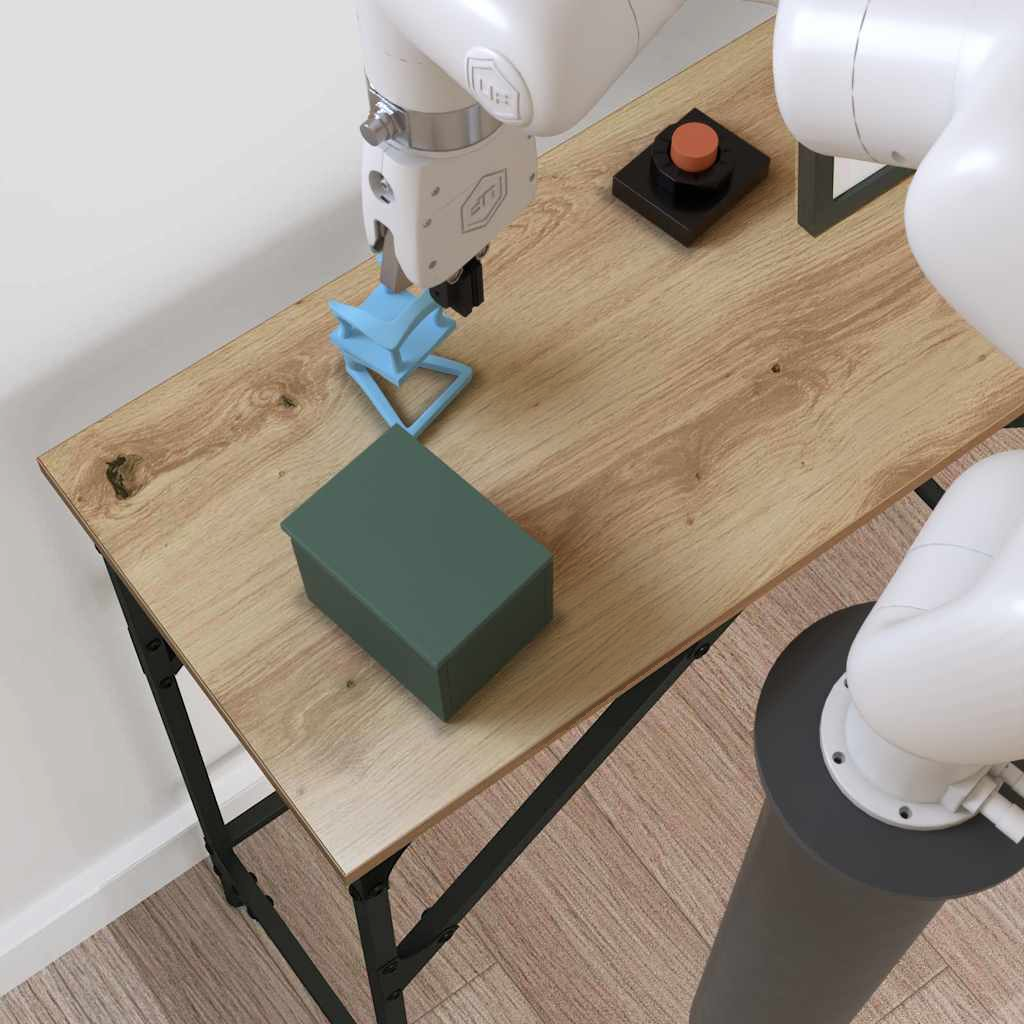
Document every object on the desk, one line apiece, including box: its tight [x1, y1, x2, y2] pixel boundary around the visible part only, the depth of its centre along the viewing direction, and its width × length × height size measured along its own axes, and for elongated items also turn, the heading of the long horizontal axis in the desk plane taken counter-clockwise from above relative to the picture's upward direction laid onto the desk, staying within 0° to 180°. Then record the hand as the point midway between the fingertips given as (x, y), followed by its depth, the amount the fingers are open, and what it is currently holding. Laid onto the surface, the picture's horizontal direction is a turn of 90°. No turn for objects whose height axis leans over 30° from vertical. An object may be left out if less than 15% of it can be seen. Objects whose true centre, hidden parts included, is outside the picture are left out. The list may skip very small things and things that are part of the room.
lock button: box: [671, 122, 718, 172], centre depth 126 cm, size 4×4×2 cm
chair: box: [328, 252, 473, 440], centre depth 116 cm, size 8×8×12 cm
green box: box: [290, 537, 554, 724], centre depth 108 cm, size 14×11×9 cm
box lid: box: [279, 423, 554, 670], centre depth 104 cm, size 14×11×1 cm
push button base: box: [611, 107, 772, 248], centre depth 128 cm, size 8×10×4 cm
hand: (456, 297), depth 100 cm, fingers closed
